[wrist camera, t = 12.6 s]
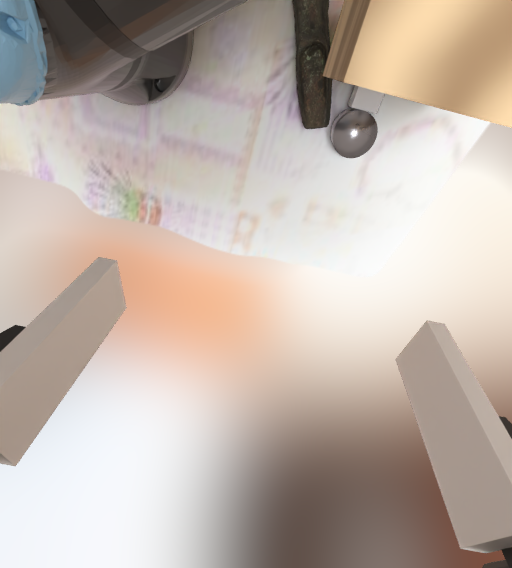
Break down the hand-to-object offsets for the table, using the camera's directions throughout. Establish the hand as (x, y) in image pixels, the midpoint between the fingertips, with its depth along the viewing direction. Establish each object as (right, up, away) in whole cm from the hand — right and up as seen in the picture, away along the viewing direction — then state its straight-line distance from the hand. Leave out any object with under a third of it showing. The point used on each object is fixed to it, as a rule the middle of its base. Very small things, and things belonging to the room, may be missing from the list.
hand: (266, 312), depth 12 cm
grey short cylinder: (+12, +21, +23) cm, 33 cm away
